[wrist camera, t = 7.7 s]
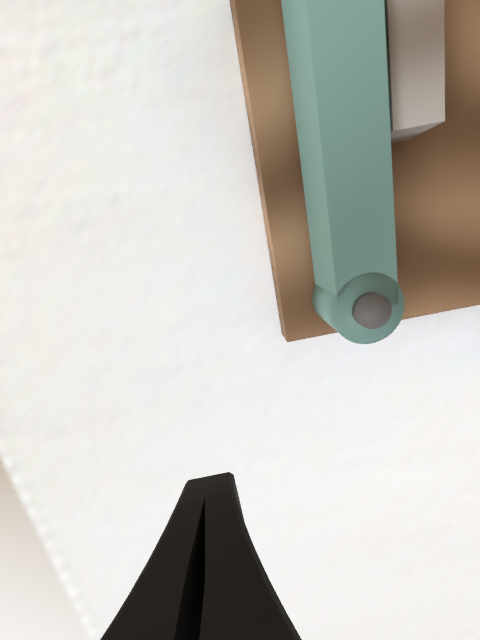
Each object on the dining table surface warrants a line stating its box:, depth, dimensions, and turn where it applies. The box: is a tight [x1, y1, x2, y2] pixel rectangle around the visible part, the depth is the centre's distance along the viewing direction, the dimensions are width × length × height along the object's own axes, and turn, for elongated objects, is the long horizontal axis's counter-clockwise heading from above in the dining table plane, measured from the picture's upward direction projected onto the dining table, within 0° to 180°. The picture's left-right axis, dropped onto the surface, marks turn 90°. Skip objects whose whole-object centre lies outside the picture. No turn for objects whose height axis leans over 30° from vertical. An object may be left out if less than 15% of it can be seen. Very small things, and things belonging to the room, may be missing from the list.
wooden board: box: [230, 0, 480, 342], centre depth 14 cm, size 16×18×4 cm
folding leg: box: [281, 0, 405, 344], centre depth 12 cm, size 14×3×4 cm, turn 10°
